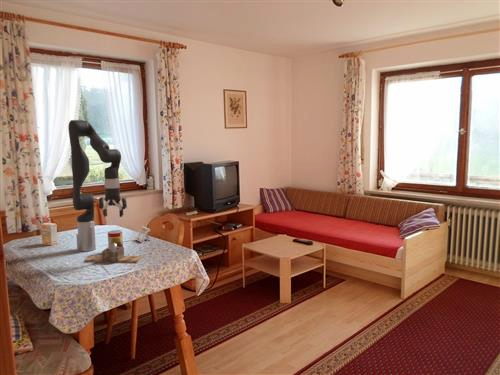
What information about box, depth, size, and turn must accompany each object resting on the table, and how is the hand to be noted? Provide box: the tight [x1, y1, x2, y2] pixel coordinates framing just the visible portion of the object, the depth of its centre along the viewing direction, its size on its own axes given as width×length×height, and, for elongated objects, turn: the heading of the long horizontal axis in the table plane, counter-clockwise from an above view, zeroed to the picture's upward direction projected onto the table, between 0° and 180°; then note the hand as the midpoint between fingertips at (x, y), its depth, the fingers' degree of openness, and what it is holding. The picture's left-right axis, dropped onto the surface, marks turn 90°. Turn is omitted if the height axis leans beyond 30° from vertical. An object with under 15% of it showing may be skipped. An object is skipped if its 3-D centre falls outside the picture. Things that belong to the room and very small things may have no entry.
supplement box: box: [40, 222, 59, 247], centre depth 241 cm, size 8×5×13 cm, turn 68°
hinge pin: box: [109, 243, 117, 251], centre depth 208 cm, size 4×4×9 cm
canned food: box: [107, 229, 124, 248], centre depth 223 cm, size 8×8×12 cm
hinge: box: [84, 246, 143, 264], centre depth 209 cm, size 28×8×6 cm, turn 86°
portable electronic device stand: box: [134, 226, 151, 243], centre depth 248 cm, size 9×8×8 cm
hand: (113, 216), depth 210 cm, fingers open, 8 cm apart
